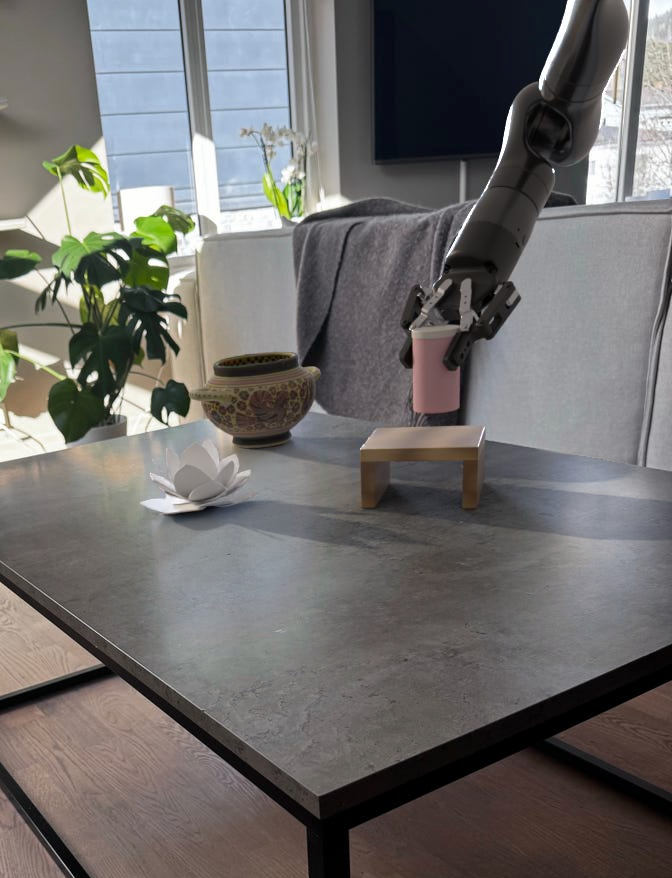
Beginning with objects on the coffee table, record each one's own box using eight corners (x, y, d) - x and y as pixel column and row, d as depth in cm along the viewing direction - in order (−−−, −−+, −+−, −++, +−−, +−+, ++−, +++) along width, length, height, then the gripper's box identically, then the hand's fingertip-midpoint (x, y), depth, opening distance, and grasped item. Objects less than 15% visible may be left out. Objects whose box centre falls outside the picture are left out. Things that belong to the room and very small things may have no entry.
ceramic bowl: (299, 438, 157) (280, 349, 154) (365, 423, 141) (346, 324, 138) (177, 469, 146) (154, 374, 143) (234, 456, 131) (210, 350, 128)
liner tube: (462, 403, 108) (463, 323, 104) (457, 412, 103) (458, 329, 100) (415, 405, 110) (415, 326, 106) (409, 414, 105) (408, 332, 102)
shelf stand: (484, 482, 112) (485, 424, 109) (476, 508, 103) (478, 446, 100) (377, 482, 117) (376, 427, 114) (361, 508, 107) (359, 449, 104)
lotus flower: (117, 513, 115) (112, 443, 112) (200, 497, 125) (198, 432, 122) (197, 525, 105) (194, 448, 102) (281, 506, 115) (280, 435, 112)
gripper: (425, 223, 108) (361, 344, 106) (536, 212, 98) (466, 346, 96) (452, 266, 113) (391, 382, 111) (560, 260, 103) (494, 388, 101)
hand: (426, 365), depth 104 cm, fingers closed on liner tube, 5 cm apart
